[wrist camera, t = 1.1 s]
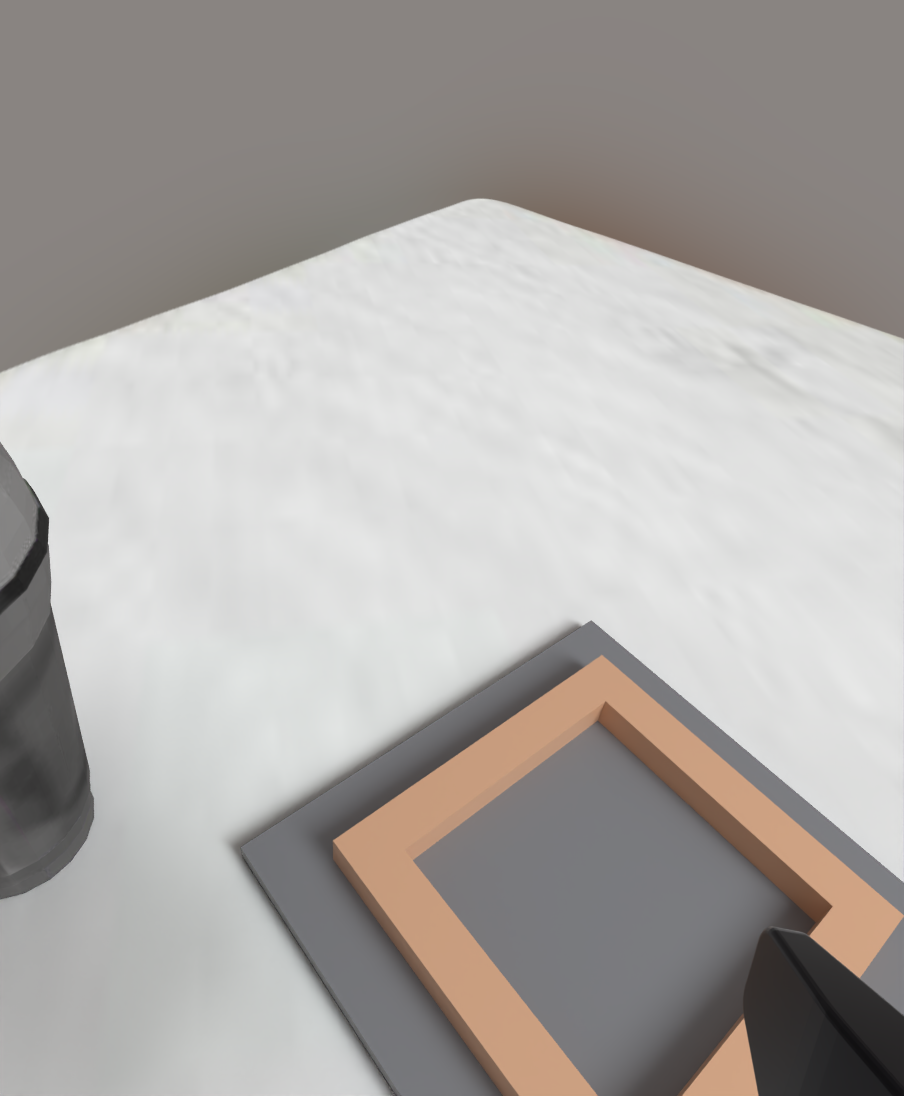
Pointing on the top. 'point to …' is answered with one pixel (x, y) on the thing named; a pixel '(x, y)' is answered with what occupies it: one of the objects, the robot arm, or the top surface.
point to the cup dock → (568, 889)
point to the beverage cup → (34, 705)
